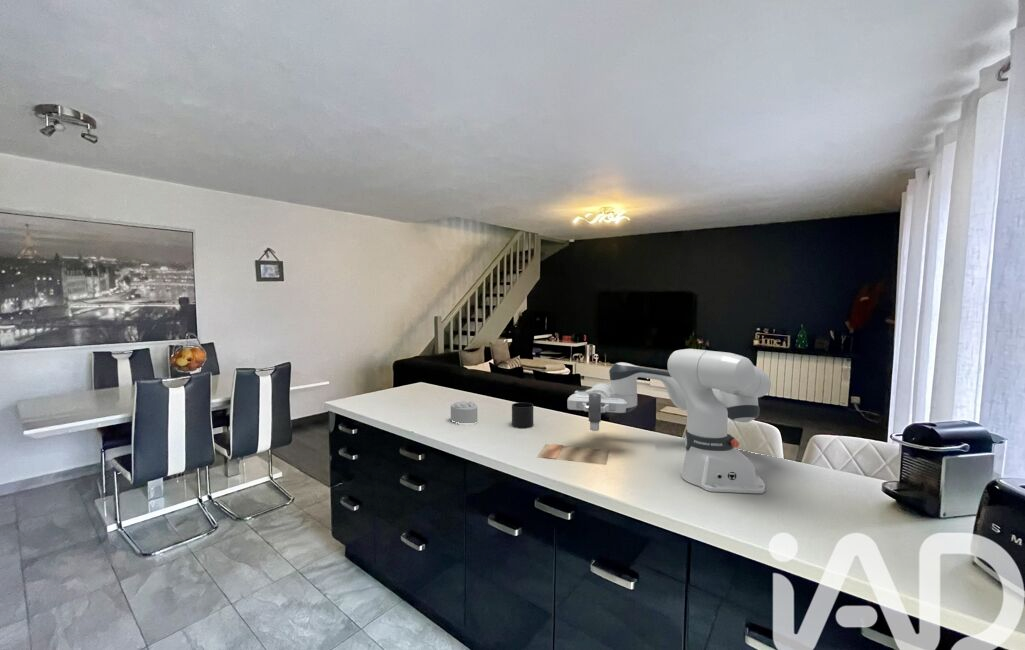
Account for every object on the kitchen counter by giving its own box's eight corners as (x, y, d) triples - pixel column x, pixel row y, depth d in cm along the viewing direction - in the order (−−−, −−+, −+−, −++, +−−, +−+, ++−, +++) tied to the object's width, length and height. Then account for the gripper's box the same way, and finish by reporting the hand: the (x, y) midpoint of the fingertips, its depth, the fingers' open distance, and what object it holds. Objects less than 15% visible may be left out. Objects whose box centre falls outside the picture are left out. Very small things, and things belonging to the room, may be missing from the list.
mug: (541, 423, 189) (541, 403, 188) (524, 429, 179) (524, 408, 179) (524, 419, 195) (524, 400, 194) (507, 425, 185) (507, 405, 185)
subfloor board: (609, 454, 150) (609, 449, 150) (606, 469, 137) (606, 463, 137) (545, 448, 157) (545, 443, 157) (536, 461, 143) (536, 456, 143)
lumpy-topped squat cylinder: (466, 416, 201) (466, 398, 200) (483, 422, 191) (482, 403, 190) (447, 420, 194) (447, 401, 194) (463, 426, 184) (463, 407, 184)
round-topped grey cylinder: (601, 428, 145) (601, 393, 145) (600, 431, 142) (600, 396, 141) (589, 427, 147) (589, 392, 146) (587, 430, 143) (588, 395, 142)
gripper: (627, 411, 153) (626, 421, 140) (570, 407, 159) (564, 416, 146) (627, 393, 153) (626, 402, 140) (571, 390, 159) (564, 398, 146)
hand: (594, 409), depth 143 cm, fingers closed on round-topped grey cylinder, 4 cm apart
